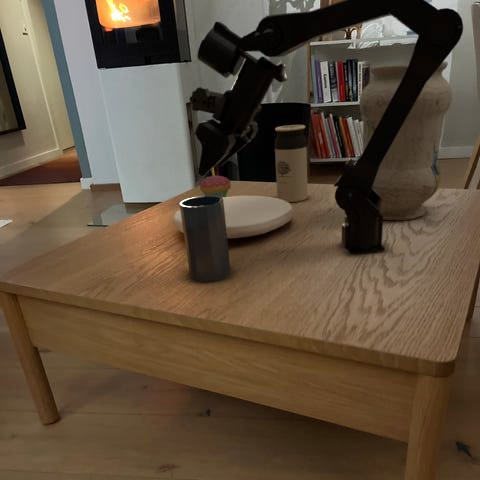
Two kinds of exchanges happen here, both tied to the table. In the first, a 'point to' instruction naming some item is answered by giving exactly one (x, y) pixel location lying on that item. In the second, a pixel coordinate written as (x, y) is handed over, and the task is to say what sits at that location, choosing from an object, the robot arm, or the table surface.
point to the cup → (205, 238)
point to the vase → (406, 141)
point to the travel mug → (291, 163)
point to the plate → (250, 215)
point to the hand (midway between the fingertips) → (209, 170)
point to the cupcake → (215, 185)
